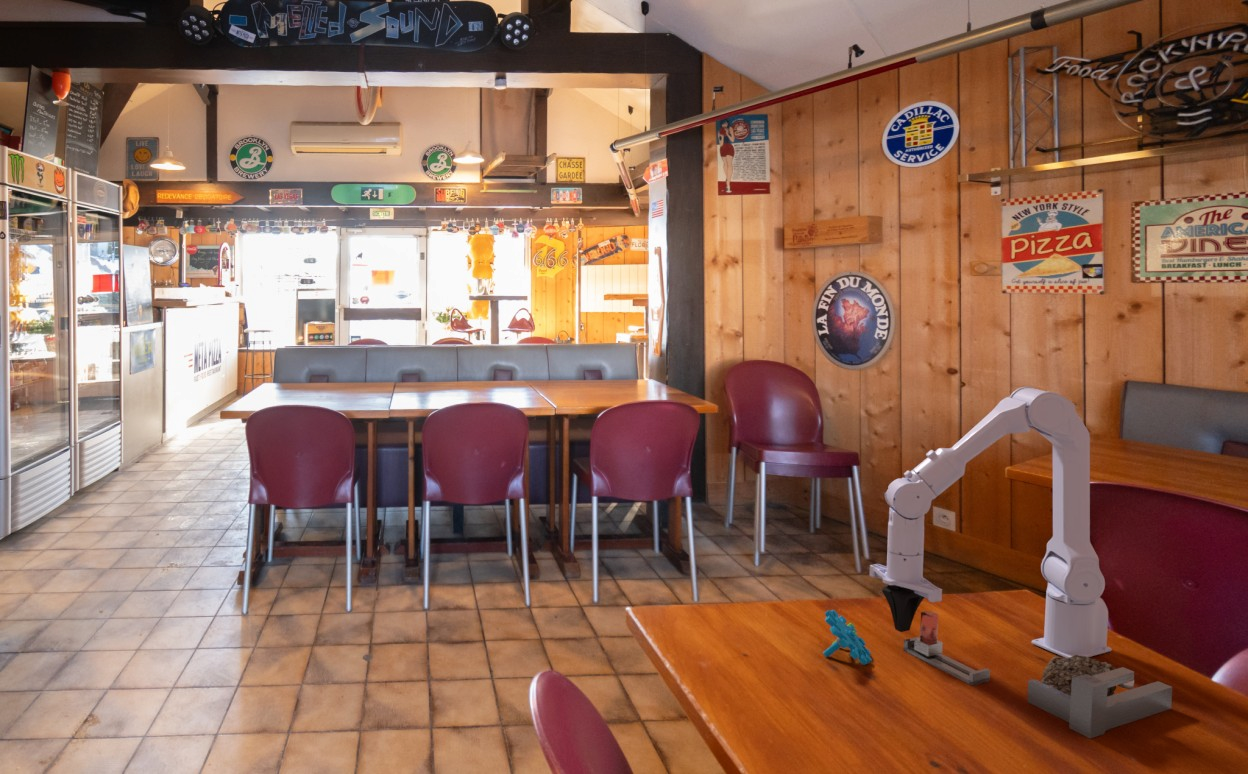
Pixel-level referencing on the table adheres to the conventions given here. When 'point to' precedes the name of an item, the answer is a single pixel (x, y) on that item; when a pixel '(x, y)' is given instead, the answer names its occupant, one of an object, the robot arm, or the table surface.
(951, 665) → the lever rail
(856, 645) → the gear
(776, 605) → the table surface
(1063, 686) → the concrete sample
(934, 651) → the lever
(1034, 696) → the grey bracket piece
